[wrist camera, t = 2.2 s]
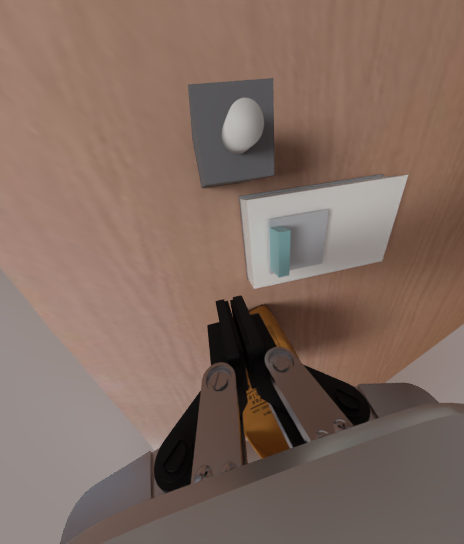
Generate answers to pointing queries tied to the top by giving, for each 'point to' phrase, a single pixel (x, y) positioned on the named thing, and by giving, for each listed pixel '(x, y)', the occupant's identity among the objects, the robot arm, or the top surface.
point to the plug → (233, 130)
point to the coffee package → (257, 411)
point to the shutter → (296, 241)
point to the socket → (340, 227)
